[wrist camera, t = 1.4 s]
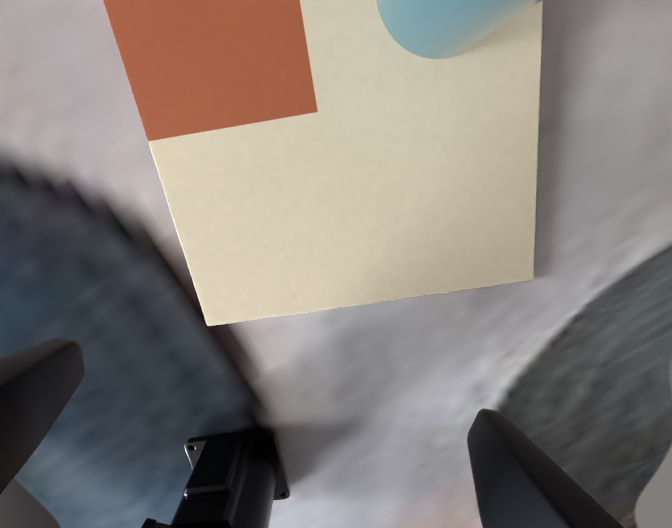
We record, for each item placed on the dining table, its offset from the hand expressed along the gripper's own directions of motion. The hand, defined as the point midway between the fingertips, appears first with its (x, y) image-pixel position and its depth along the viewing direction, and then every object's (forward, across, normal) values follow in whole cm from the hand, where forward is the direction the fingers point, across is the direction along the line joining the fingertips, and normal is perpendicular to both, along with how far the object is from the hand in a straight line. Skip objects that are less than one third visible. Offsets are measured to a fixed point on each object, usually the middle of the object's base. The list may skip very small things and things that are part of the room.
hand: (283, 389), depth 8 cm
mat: (+14, 0, -5) cm, 14 cm away
